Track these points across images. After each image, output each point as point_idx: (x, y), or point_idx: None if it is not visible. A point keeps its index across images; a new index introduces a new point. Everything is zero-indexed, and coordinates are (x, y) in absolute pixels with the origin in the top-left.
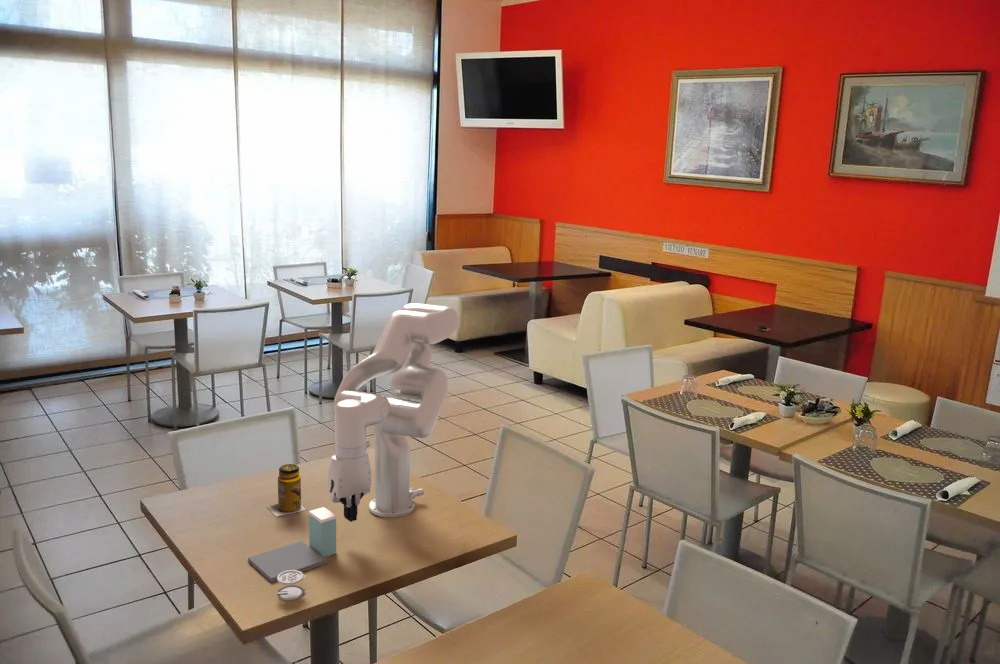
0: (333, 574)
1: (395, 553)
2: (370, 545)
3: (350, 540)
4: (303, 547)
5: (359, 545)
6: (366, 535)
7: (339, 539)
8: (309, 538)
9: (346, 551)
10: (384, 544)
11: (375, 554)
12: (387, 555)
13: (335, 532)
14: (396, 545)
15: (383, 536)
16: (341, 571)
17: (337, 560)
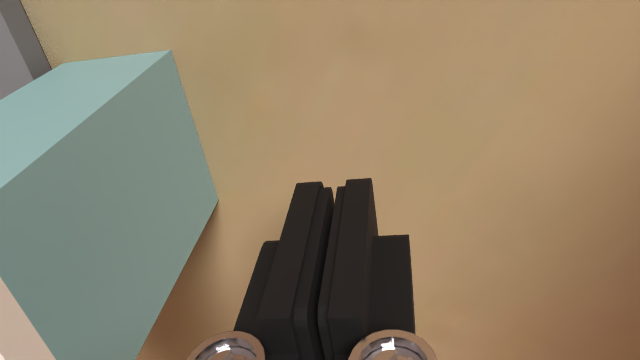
0: (156, 343)
1: (512, 348)
2: (448, 222)
3: (366, 99)
4: (1, 90)
5: (387, 189)
6: (514, 88)
7: (298, 41)
8: (10, 94)
9: (281, 211)
10: (531, 253)
11: (414, 310)
12: (462, 343)
13: (156, 308)
14: (582, 294)
15: (609, 165)
16: (196, 342)
17: (203, 264)
